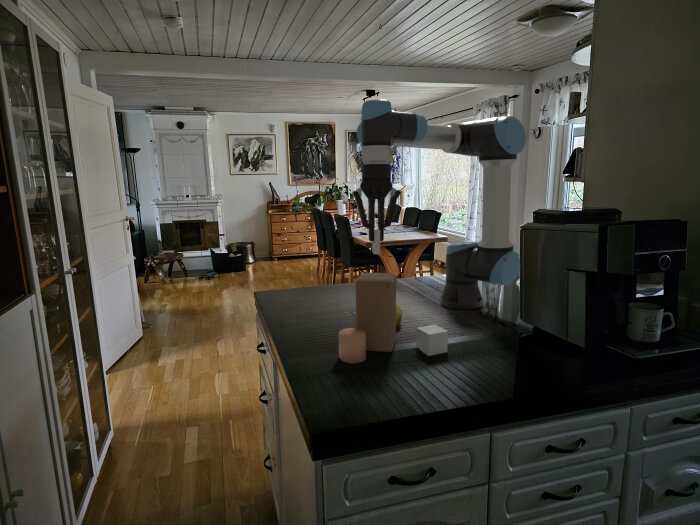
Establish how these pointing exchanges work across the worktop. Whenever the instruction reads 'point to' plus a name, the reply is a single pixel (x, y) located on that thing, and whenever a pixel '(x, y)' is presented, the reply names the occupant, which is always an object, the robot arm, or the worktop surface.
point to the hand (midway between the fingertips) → (376, 253)
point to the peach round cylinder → (352, 345)
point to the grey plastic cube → (432, 339)
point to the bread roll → (398, 315)
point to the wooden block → (377, 310)
